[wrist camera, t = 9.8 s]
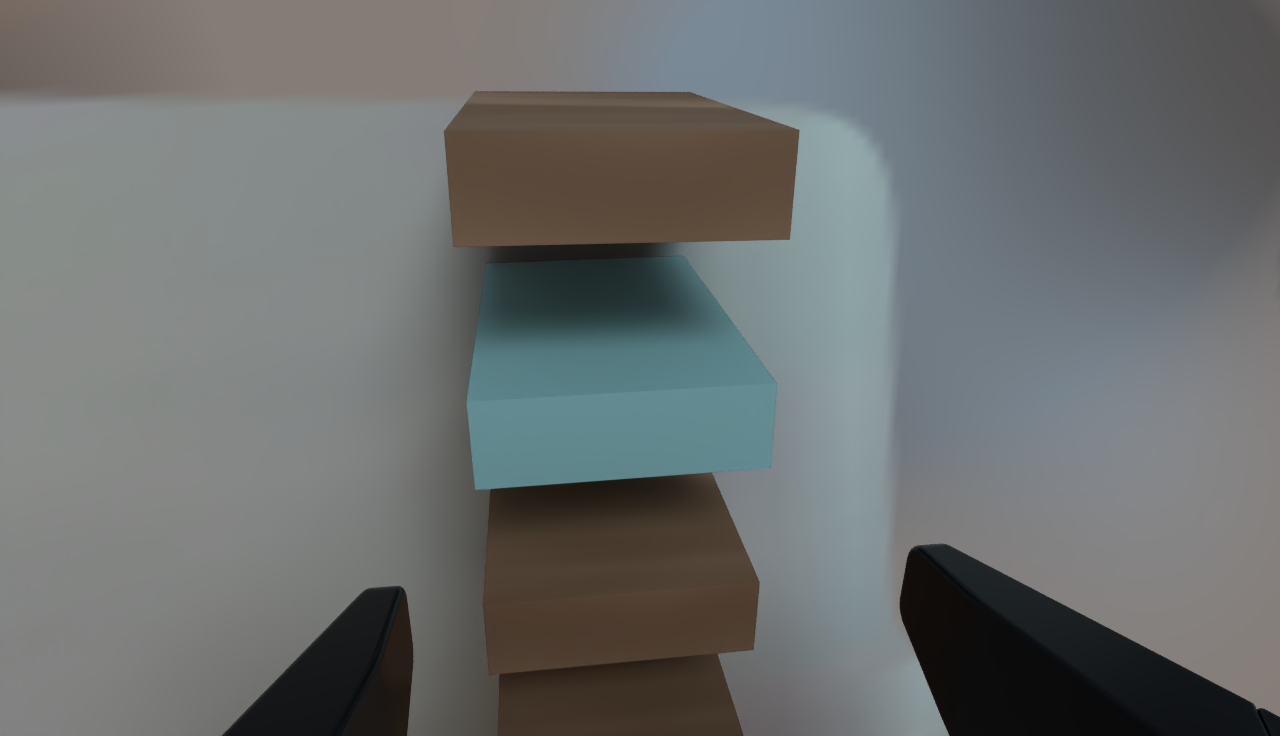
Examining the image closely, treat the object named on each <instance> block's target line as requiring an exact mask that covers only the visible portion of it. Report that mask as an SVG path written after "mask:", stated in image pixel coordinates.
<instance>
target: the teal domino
mask: <svg viewBox="0 0 1280 736" xmlns="http://www.w3.org/2000/svg"><path fill="white" fill-rule="evenodd" d="M776 391H777V382H776V381H775V380H774V378H773V377H772V376H771V374H770V373H769V371H768V370H767V369H766V367H765V366H764V365H763V363H762V362H761V361H760V359H759V358H758V356H757V355H756V354H755V352H754V351H753V350H752V348H751V347H750V345H749V344H748V343H747V341H746V340H745V339H744V337H743V336H742V335H741V333H740V332H739V330H738V329H737V328H736V326H735V325H734V324H733V322H732V321H731V320H730V318H729V317H728V315H727V314H726V313H725V311H724V310H723V309H722V307H721V306H720V305H719V303H718V302H717V300H716V299H715V298H714V296H713V295H712V294H711V292H710V291H709V290H708V288H707V287H706V285H705V284H704V283H703V281H702V280H701V279H700V277H699V276H698V275H697V273H696V272H695V270H694V269H693V268H692V266H691V265H690V264H689V262H688V261H687V259H686V258H685V257H684V256H666V257H640V258H614V259H588V260H562V261H536V262H509V263H486V268H485V275H484V282H483V289H482V296H481V303H480V310H479V317H478V324H477V331H476V338H475V345H474V352H473V359H472V366H471V373H470V380H469V387H468V394H467V401H466V403H467V413H468V423H469V433H470V444H471V454H472V464H473V474H474V484H475V490H482V489H496V488H509V487H522V486H536V485H549V484H563V483H576V482H589V481H603V480H616V479H629V478H643V477H656V476H670V475H683V474H696V473H710V472H723V471H736V470H750V469H763V468H771V458H772V445H773V431H774V418H775V405H776Z"/></svg>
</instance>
